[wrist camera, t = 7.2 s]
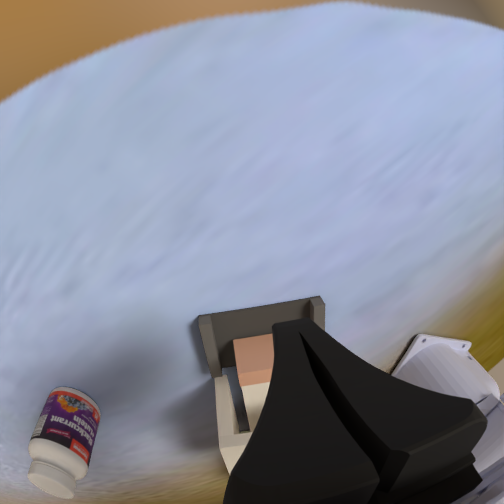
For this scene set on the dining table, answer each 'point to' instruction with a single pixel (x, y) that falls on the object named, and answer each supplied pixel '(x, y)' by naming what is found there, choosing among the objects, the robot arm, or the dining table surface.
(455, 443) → the robot arm
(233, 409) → the tunnel
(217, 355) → the pit tray
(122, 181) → the dining table surface
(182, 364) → the dining table surface
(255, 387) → the sled
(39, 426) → the pill bottle
